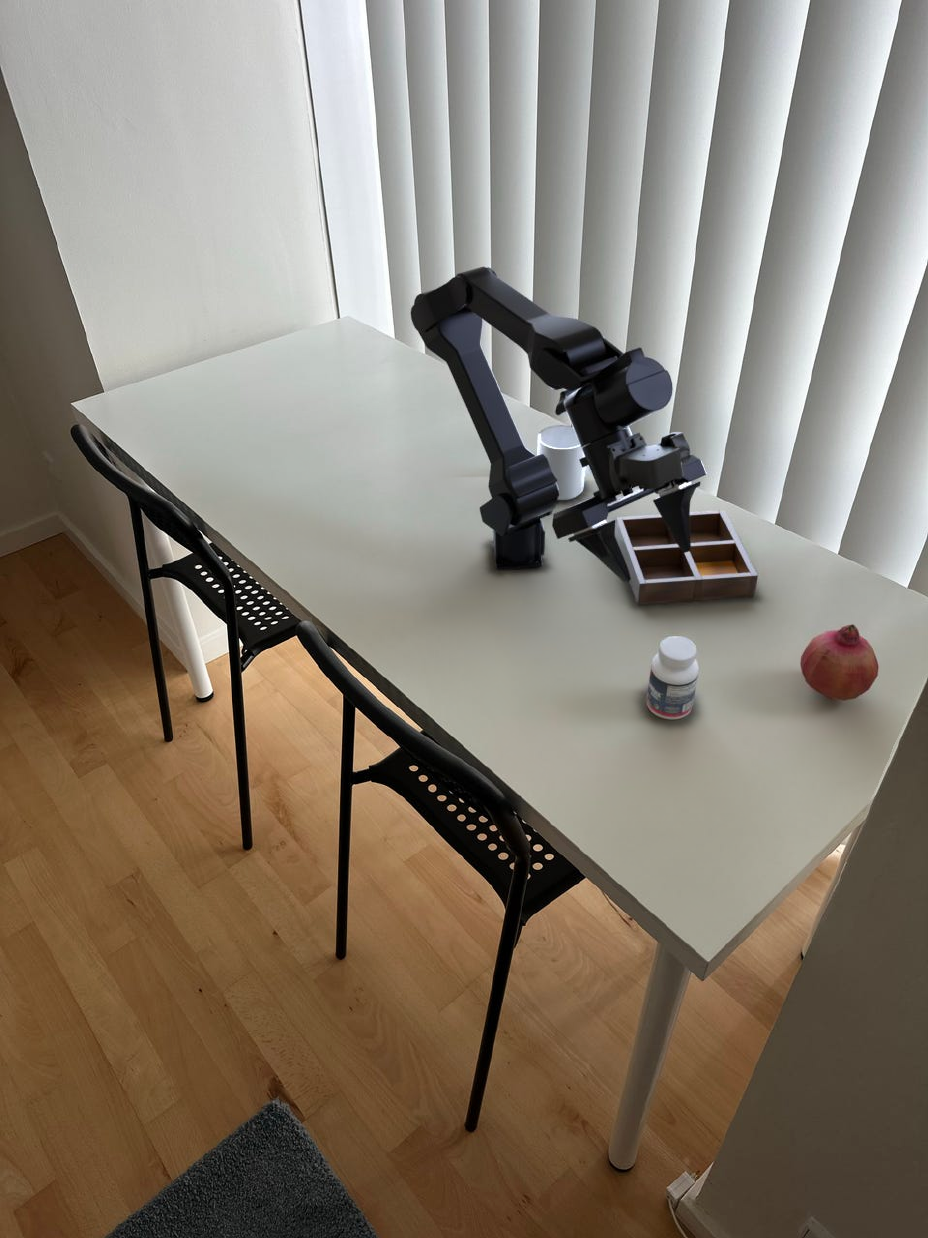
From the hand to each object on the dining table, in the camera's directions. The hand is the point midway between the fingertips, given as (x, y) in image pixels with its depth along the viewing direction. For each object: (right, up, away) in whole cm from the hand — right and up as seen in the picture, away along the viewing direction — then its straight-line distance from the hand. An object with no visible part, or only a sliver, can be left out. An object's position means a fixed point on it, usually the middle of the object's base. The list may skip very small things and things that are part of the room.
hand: (658, 566), depth 107 cm
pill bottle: (+2, -16, +2) cm, 16 cm away
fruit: (+21, -15, +3) cm, 26 cm away
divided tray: (+8, +1, +22) cm, 24 cm away
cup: (-6, +14, +39) cm, 42 cm away
